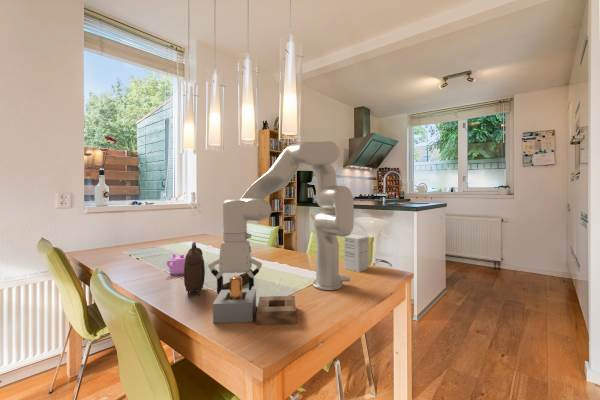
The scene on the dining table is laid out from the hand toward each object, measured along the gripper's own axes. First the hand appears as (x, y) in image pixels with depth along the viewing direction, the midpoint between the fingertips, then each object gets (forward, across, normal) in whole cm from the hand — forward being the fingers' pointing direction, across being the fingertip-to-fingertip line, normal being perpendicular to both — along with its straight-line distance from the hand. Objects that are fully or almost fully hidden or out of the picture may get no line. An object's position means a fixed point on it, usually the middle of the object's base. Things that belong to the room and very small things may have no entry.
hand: (235, 289), depth 92 cm
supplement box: (+8, -54, -49) cm, 73 cm away
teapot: (+9, +34, -49) cm, 61 cm away
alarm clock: (+8, +20, -21) cm, 30 cm away
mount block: (+8, -14, +2) cm, 16 cm away
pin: (+8, 0, 0) cm, 8 cm away
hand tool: (+9, +5, -25) cm, 27 cm away
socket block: (+8, 0, 0) cm, 8 cm away
